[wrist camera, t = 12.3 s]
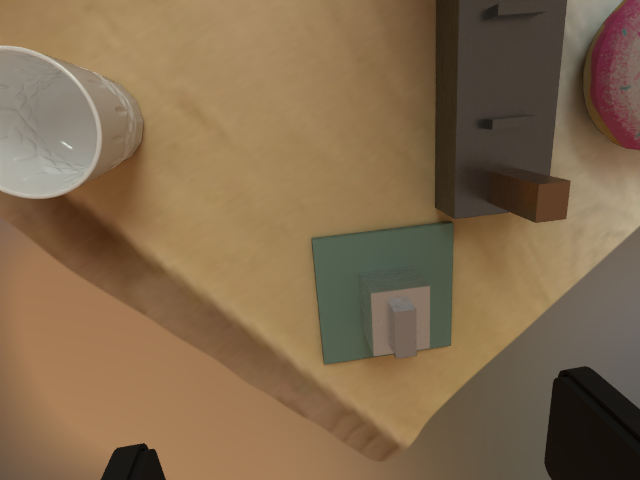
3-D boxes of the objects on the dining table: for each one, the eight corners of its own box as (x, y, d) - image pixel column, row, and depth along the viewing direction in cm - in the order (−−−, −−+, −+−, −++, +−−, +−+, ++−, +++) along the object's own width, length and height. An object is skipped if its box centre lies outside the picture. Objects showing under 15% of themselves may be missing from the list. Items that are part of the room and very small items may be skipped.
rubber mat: (311, 238, 36) (312, 240, 35) (450, 221, 37) (453, 223, 36) (323, 360, 40) (324, 364, 39) (448, 342, 41) (450, 345, 40)
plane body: (518, 197, 37) (603, 227, 27) (435, 207, 36) (493, 242, 27) (539, -89, 30) (664, -181, 20) (436, -84, 29) (517, -176, 20)
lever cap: (412, 322, 39) (435, 356, 34) (362, 329, 39) (377, 364, 33) (411, 265, 37) (435, 292, 32) (359, 272, 37) (374, 300, 31)
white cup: (145, 67, 30) (88, 47, 20) (157, 172, 32) (111, 198, 23) (32, 64, 29) (-82, 43, 20) (54, 173, 31) (-39, 200, 22)
